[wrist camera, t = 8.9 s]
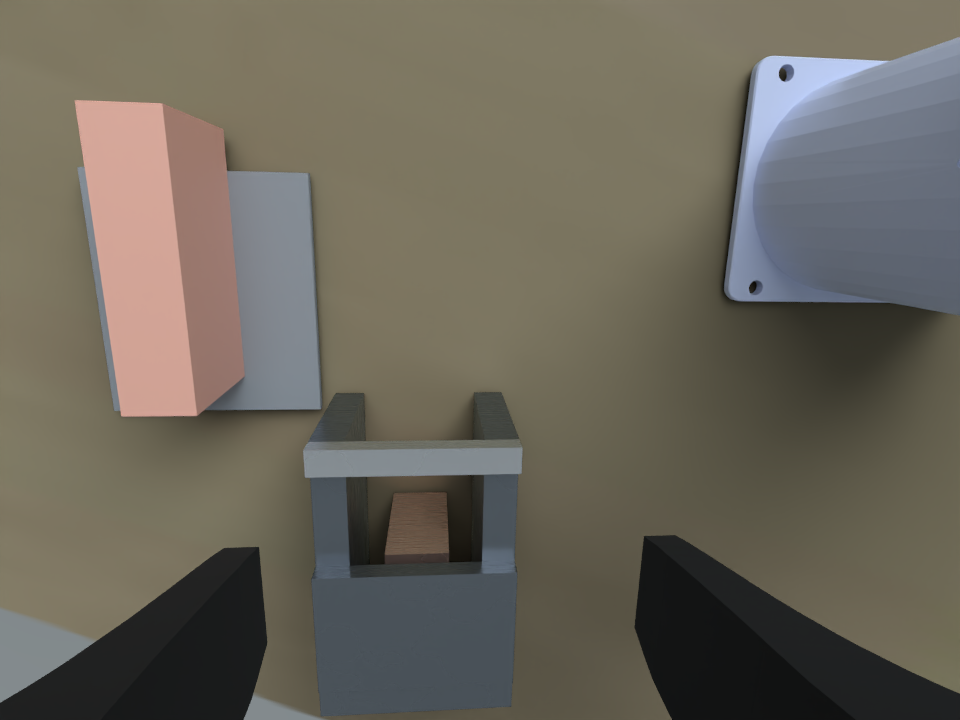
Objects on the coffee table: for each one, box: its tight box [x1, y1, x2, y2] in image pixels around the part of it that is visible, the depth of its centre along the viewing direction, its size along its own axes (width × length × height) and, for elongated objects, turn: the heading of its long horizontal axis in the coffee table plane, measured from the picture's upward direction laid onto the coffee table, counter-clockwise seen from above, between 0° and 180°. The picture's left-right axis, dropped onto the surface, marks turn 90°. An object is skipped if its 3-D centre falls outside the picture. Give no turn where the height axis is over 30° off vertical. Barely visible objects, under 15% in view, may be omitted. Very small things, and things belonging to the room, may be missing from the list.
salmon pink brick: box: [75, 100, 245, 416], centre depth 16 cm, size 2×8×4 cm, turn 179°
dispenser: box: [303, 392, 522, 716], centre depth 19 cm, size 6×9×5 cm, turn 179°
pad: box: [78, 167, 322, 411], centre depth 19 cm, size 7×8×1 cm
